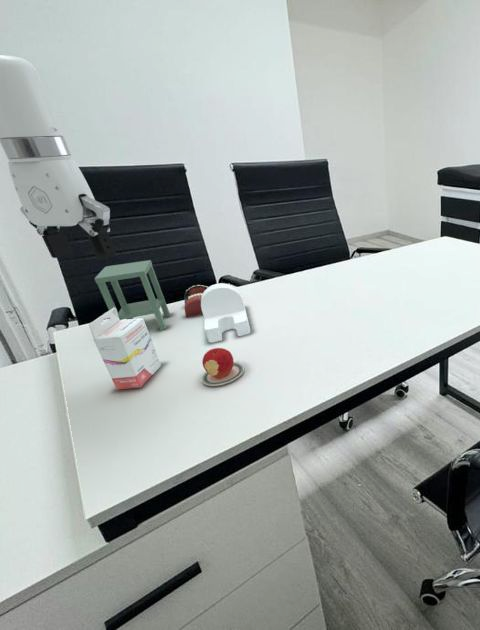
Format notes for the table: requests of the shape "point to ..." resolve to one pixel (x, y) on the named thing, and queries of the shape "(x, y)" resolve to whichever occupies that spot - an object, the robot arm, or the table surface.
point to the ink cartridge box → (125, 349)
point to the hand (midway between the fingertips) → (84, 256)
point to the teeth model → (194, 300)
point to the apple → (220, 367)
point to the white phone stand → (223, 311)
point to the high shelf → (140, 271)
